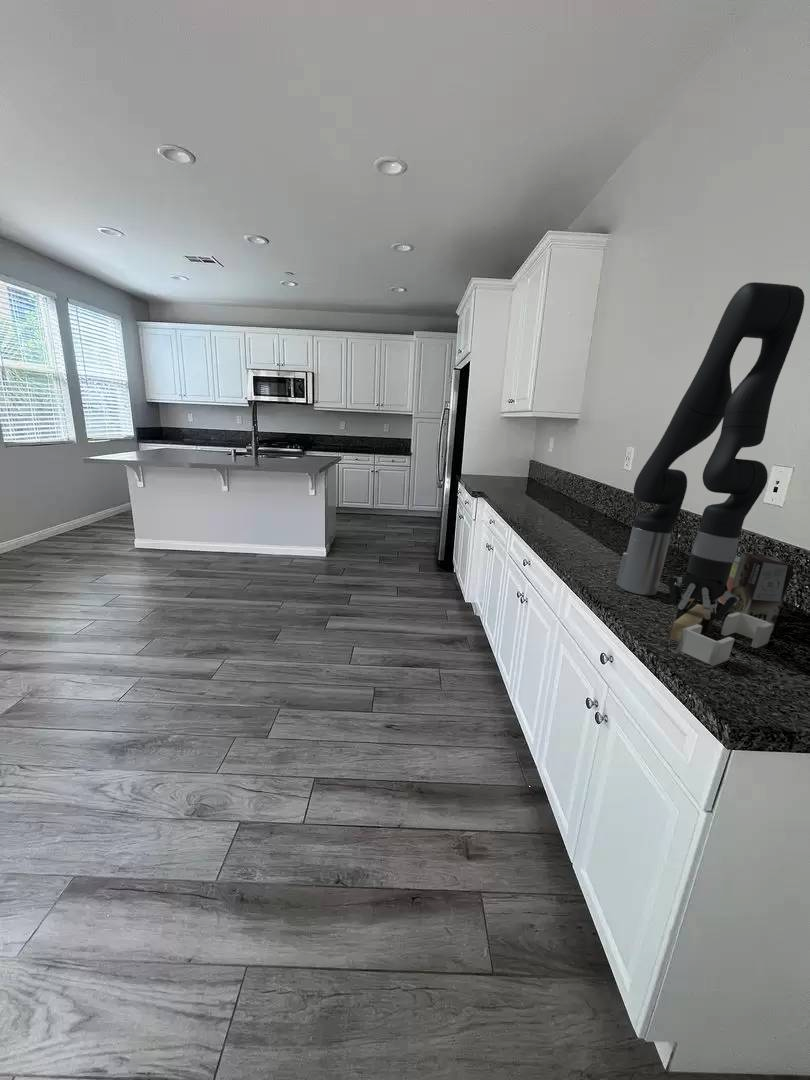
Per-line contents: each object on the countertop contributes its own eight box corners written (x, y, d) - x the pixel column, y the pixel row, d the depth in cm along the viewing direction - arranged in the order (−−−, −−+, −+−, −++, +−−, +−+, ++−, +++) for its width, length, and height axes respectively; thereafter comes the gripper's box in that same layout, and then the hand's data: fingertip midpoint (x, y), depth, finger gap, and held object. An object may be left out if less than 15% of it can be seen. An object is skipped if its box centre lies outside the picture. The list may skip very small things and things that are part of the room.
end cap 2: (767, 643, 93) (774, 624, 92) (755, 648, 90) (762, 628, 89) (732, 630, 99) (738, 611, 97) (720, 634, 96) (726, 615, 94)
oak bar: (669, 639, 91) (673, 621, 90) (693, 619, 103) (697, 603, 102) (687, 646, 89) (692, 628, 88) (709, 624, 101) (714, 609, 100)
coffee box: (774, 633, 99) (796, 566, 95) (742, 628, 100) (763, 561, 96) (751, 617, 108) (771, 555, 104) (722, 613, 109) (741, 551, 105)
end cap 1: (677, 649, 86) (682, 628, 85) (692, 644, 89) (697, 624, 88) (713, 666, 81) (720, 644, 80) (728, 660, 84) (734, 638, 83)
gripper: (668, 546, 95) (650, 618, 100) (743, 566, 84) (718, 647, 88) (686, 544, 99) (668, 614, 104) (759, 563, 88) (735, 641, 92)
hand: (691, 629), depth 96 cm, fingers closed on oak bar, 4 cm apart
